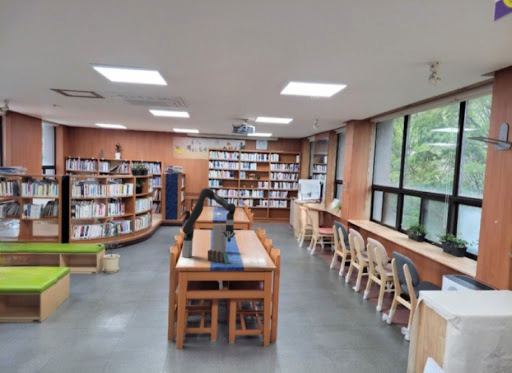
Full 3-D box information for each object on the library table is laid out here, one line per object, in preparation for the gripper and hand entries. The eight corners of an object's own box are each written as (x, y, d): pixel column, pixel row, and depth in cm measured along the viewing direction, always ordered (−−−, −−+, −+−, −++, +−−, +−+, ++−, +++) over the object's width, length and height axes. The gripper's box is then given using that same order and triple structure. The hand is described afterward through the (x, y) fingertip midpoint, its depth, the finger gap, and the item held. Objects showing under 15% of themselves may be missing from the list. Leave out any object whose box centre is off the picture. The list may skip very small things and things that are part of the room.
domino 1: (207, 260, 307) (207, 250, 306) (209, 259, 311) (210, 249, 311) (209, 260, 306) (209, 251, 305) (211, 259, 310) (212, 249, 310)
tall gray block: (212, 253, 334) (213, 225, 332) (212, 251, 339) (213, 224, 338) (225, 252, 337) (226, 225, 336) (225, 251, 343) (226, 224, 341)
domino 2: (211, 261, 305) (212, 251, 304) (214, 260, 309) (214, 250, 309) (213, 261, 304) (213, 251, 303) (216, 260, 309) (216, 250, 308)
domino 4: (220, 263, 301) (220, 252, 300) (223, 261, 306) (223, 251, 305) (222, 263, 300) (222, 253, 300) (224, 261, 305) (225, 251, 304)
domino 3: (216, 262, 303) (216, 252, 302) (218, 260, 307) (219, 251, 307) (218, 262, 302) (218, 252, 301) (220, 261, 307) (220, 251, 306)
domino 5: (225, 263, 299) (222, 253, 300) (227, 262, 304) (225, 252, 304) (227, 263, 298) (224, 253, 299) (229, 262, 303) (226, 252, 304)
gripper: (237, 224, 300) (236, 241, 301) (225, 222, 305) (224, 240, 306) (234, 225, 293) (233, 243, 294) (221, 223, 298) (221, 241, 299)
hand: (229, 241), depth 300 cm, fingers closed
